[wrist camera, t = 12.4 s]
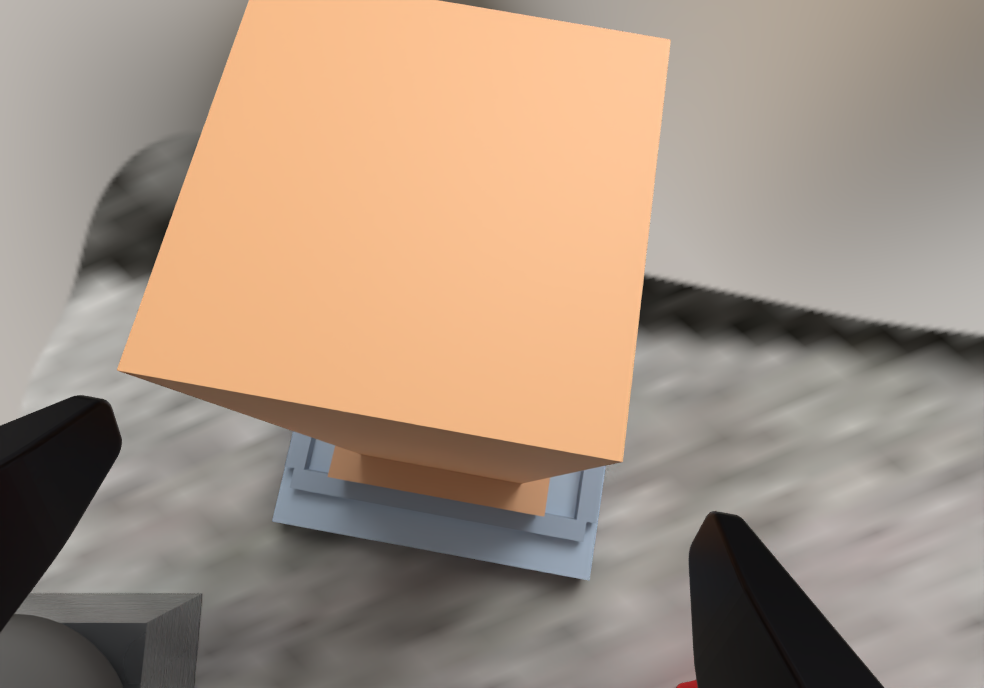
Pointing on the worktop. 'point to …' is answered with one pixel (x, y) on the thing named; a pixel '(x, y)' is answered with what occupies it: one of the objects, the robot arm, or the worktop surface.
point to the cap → (688, 684)
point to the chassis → (444, 515)
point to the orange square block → (417, 242)
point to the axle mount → (132, 632)
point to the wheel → (51, 657)
